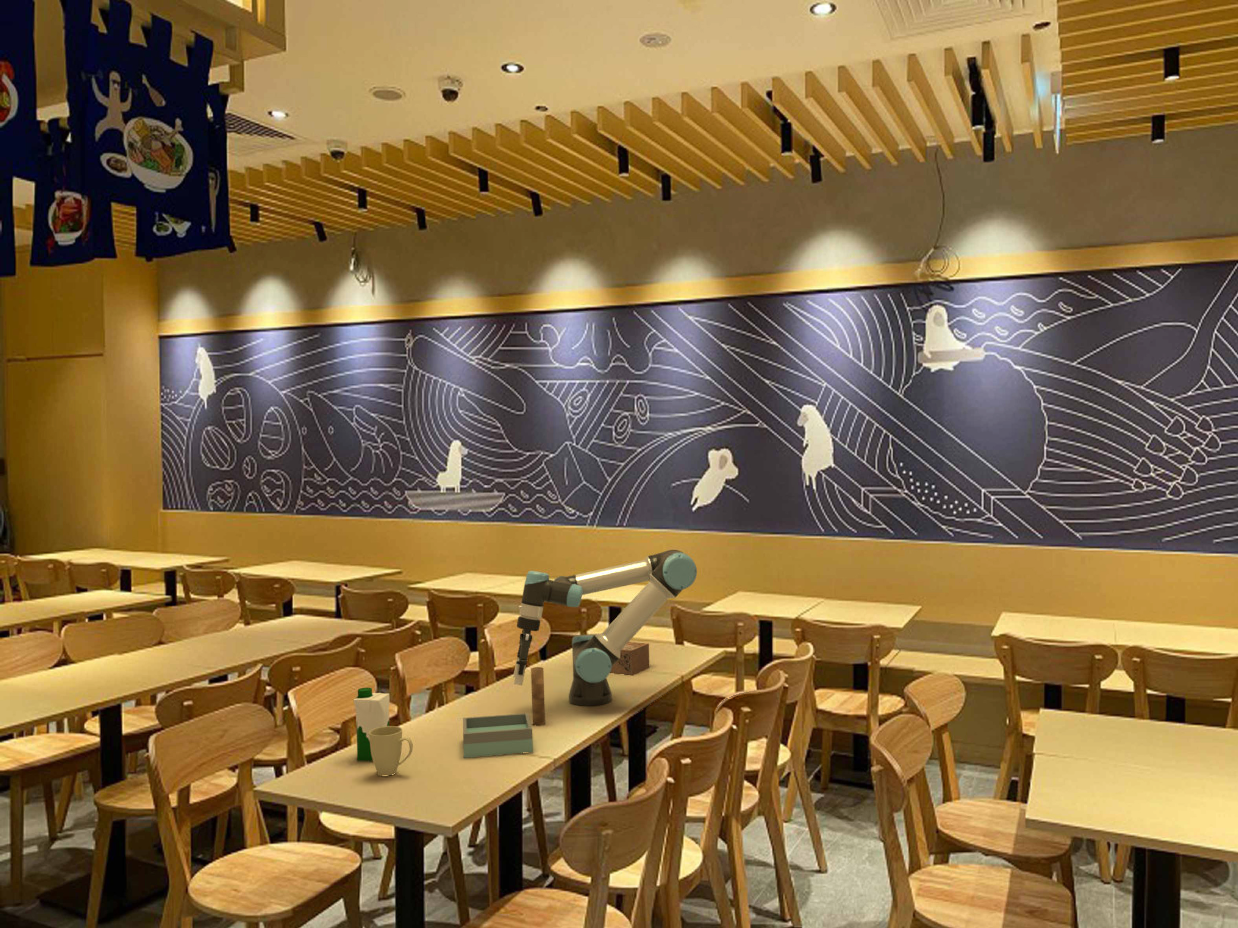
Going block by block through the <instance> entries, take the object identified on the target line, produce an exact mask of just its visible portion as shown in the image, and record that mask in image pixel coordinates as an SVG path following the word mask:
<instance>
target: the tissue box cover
mask: <svg viewBox="0 0 1238 928" xmlns="http://www.w3.org/2000/svg"><path fill="white" fill-rule="evenodd" d="M648 669H650V644H649V643H647V642H635V641H629V642H628V643H627V644H626V645H625V646H624V647H623V649H622V650H621V651H620V659H619V660H618V661H617V662H616V663H615V664H614V665H613V666H612V667H611V671H610V673H609V674H611V673H614V674H613V675H620V674H624V675H623V676H629V675H630V676H629V677H631V676H635V675H637V674H639V673H642V672H643V671H646V670H648ZM634 674H635V675H634Z"/></svg>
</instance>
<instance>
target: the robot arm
mask: <svg viewBox="0 0 1238 928" xmlns="http://www.w3.org/2000/svg"><path fill="white" fill-rule="evenodd" d="M697 574H698V569H697V566H696V563H695V561H694V560H693V559H692V557H691V556H689V555H688V554H687V553H685V552H683V551H681V550H679V549H669V550H665V551H661V552H658V553H655V554H651V555H647V556H645V558H644V559H642V560H636V561H633V562H628V563H623V564H618V565H614V566H613V565H612V566H609V567H605V568H601V569H596V570H592V571H586V572H581V573H578V574H577V573H576V574H572V575H569V576H562V575H561V576H560V575H559V576H557V577H556V578H555V579H554V580H552V579H550V575H549V574H548V572H547V573H546V572H542V571H535V570H529V571H528V572H527V574H526V576H525V581H524V585H523V590H522V597H521V602H520V605H518V606H517V607H518V609H519V612H518V614H519V616H518V618H517V622H516V628H518V629H521V630H522V632H521V633H520V634H519V641H518V645H519V646H518V650H517V655H516V661H515V667H514V671H513V675H512V676H513V678H514V682H513V685H517V686H523V683H524V678H525V673H526V669H527V664H528V657H529V651H530V648H531V643H532V641H533V635H532V632H538V631H540V626H541V619H542V617H543V611H544V604H545V603H548V604H549V603H550V604H553V605H554V604H555V605H560V606H565V607H569V608H578V607H579V606H580V604H581V602H582V597H583V596H585V595H589V594H594V593H598V592H603V591H607V590H612V589H617V588H621V587H627V586H631V585H636V584H640V583H646V582H648V583H646V585H645V586H644V587H643V588H642V589H641V590H640V591H639V592H638V593H637V594H636V596H634V598H632V600H631V601H630V602H628V604H627V605H626V606H625V608H624V609H623V610H622V611H621V612H620V613H619V614H618V615H617V617H616V618H615V619H614V620H613V621H612V622H611V623H610V624H609V625H608V626H607V627H606V628H605V629H604V630H603V631H602V632H601V633H594V634H580V635H575V636H573V637H572V639H571V646H572V647H571V648H572V650H571V651H572V683H571V685H570V689H569V693H568V702H569V703H570V704H572V705H577V706H584V707H585V706H587V707H589V706H590V707H591V706H601V705H605V704H607V703H610V702H611V701H612V700H613V698H612V697H613V694H612V693H613V692H612V690H611V687H610V685H609V681H608V679H607V678H608V676H609V675H610V674H611V673H610V671H611V667H612V666H613V665H614V664H615V663H616V662H617V661H618V660H619V659H620V651H621V650H622V649H623V647H624V646H625V645H626V644H627V643H628V642H631V640H632V639H633V638H634V636H635V635H636V634H637V633H638V632H639V631H640V630H641V629H642V628H643V627H644V626H645V625H646V624H647V623H648V621H650V619H651V618H652V617H653V616H654V615H655V614H656V613H657V612H658V610H660V609H661V608H662V606H663V605H664V604H665V603H666V602H667V601H668V600H669V599H676V597H678V595H680V594H681V592H682V591H683V590H686V589H688V588H689V587H691V586H692V585H693V584H694V582H695V580H696V578H697Z"/></svg>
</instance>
